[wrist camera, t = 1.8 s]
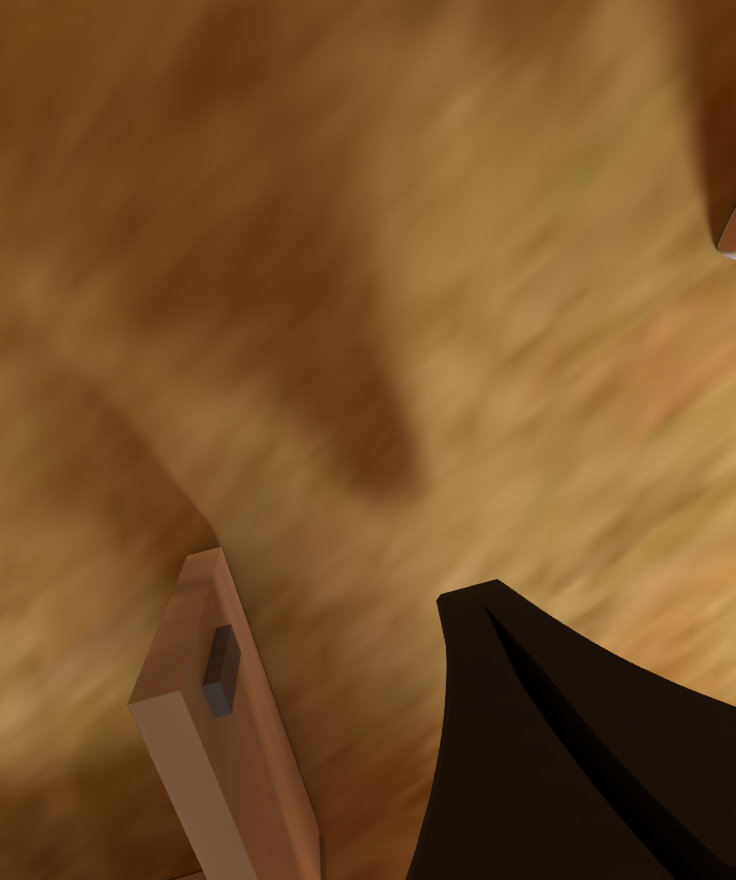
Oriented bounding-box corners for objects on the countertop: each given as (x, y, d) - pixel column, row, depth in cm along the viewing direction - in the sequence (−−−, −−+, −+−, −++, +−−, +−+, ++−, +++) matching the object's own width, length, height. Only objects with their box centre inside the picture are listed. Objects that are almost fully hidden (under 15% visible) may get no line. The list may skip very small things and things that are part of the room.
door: (297, 856, 15) (297, 1083, 11) (185, 556, 12) (123, 706, 8) (336, 844, 16) (351, 1066, 11) (233, 543, 12) (199, 684, 8)
